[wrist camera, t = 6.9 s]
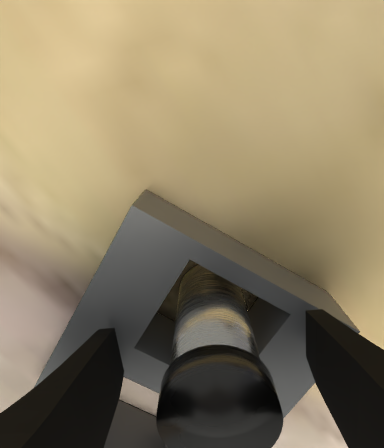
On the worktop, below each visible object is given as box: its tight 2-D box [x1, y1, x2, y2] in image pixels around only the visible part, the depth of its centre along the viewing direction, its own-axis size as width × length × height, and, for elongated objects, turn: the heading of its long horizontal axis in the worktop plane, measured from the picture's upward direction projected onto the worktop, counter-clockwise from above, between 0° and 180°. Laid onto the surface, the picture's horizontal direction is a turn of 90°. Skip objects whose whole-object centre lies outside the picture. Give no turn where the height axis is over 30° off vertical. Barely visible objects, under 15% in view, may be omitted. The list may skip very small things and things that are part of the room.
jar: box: [156, 265, 283, 448], centre depth 12 cm, size 3×3×7 cm
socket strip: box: [34, 190, 360, 448], centre depth 14 cm, size 10×12×3 cm
